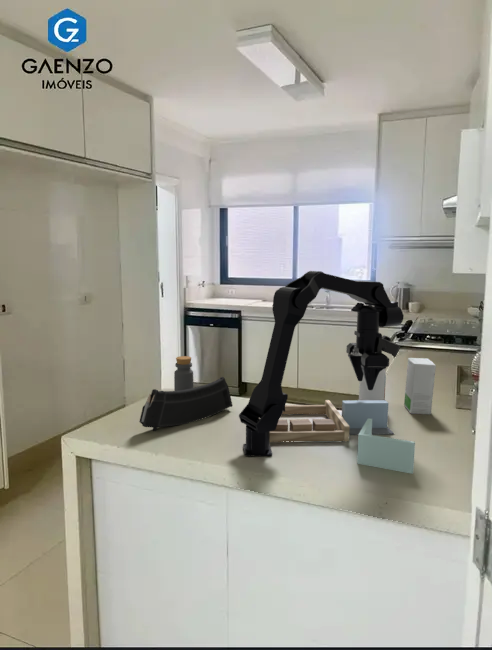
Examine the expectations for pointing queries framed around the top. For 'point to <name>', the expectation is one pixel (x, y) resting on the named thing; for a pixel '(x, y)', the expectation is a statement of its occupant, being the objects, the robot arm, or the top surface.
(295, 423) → the offcut
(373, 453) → the l-shaped corner panel
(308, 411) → the frame
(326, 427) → the offcut
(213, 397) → the magazine
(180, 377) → the bottle
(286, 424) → the offcut
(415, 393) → the skincare box
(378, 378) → the milk bottle
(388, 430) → the mat
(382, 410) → the light blue rectangular panel
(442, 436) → the top surface
